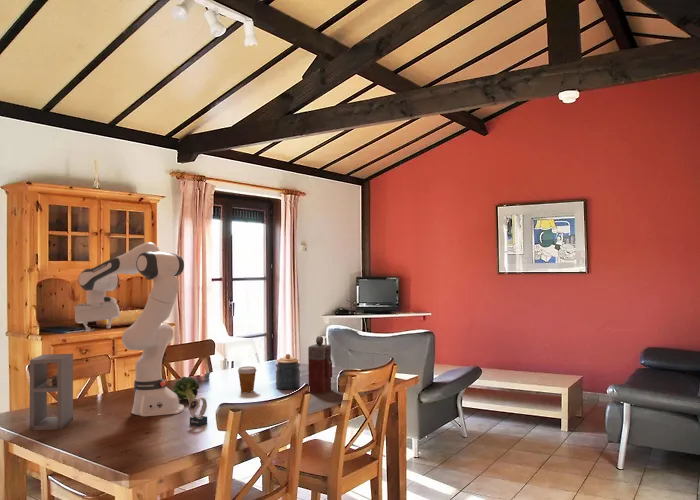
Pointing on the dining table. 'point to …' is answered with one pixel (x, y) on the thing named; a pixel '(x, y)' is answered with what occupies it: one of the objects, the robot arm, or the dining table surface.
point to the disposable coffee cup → (247, 378)
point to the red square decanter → (319, 367)
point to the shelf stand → (40, 391)
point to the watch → (193, 406)
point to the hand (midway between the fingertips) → (98, 329)
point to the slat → (52, 380)
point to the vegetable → (186, 388)
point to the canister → (287, 373)
